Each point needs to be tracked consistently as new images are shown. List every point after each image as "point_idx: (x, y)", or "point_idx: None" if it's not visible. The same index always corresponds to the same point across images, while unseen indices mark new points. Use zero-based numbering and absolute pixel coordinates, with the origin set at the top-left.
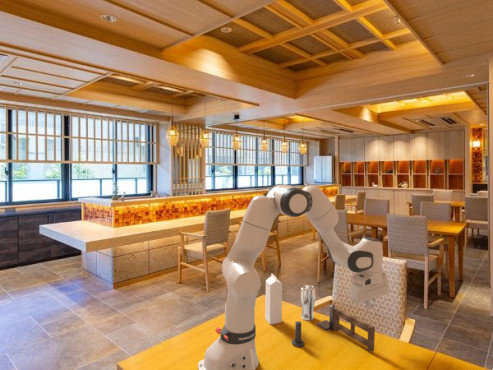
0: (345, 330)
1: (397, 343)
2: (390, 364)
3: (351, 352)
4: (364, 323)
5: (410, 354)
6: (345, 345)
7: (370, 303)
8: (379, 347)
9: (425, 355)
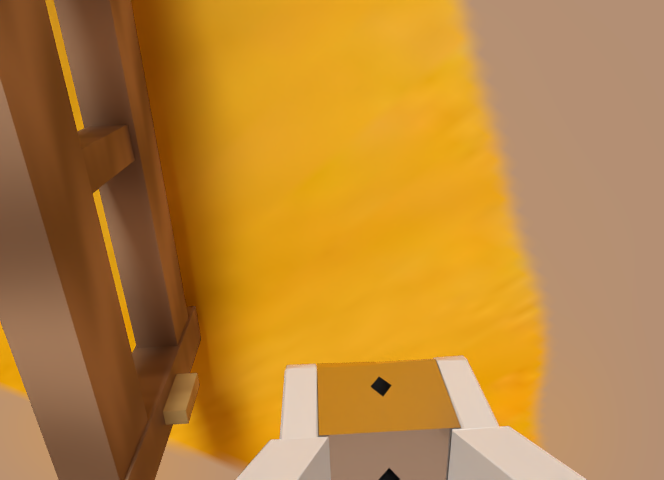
0: (70, 40)
1: (488, 319)
2: (207, 448)
3: None
4: (62, 428)
5: None
6: None
7: (413, 475)
8: (308, 296)
9: None
